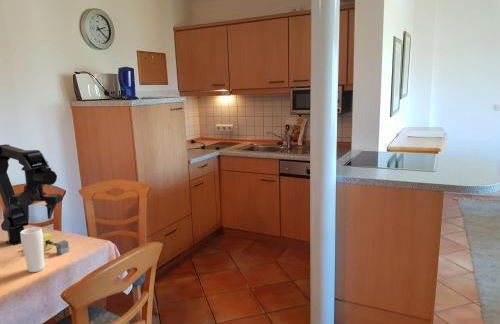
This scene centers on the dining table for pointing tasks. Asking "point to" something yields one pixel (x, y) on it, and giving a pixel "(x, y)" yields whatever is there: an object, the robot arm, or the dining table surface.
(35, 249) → the drinking glass
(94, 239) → the dining table surface
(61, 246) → the cord fixture
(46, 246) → the sleeve
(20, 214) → the robot arm
